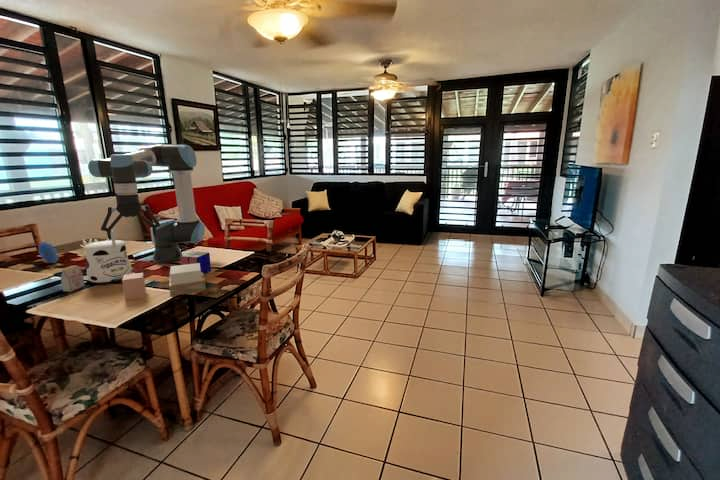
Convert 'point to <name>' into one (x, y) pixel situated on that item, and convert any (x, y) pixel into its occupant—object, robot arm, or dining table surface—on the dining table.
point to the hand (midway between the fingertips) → (134, 245)
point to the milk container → (107, 261)
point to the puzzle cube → (197, 260)
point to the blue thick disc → (48, 252)
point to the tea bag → (72, 279)
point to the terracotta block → (134, 286)
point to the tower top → (185, 273)
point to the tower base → (187, 287)
